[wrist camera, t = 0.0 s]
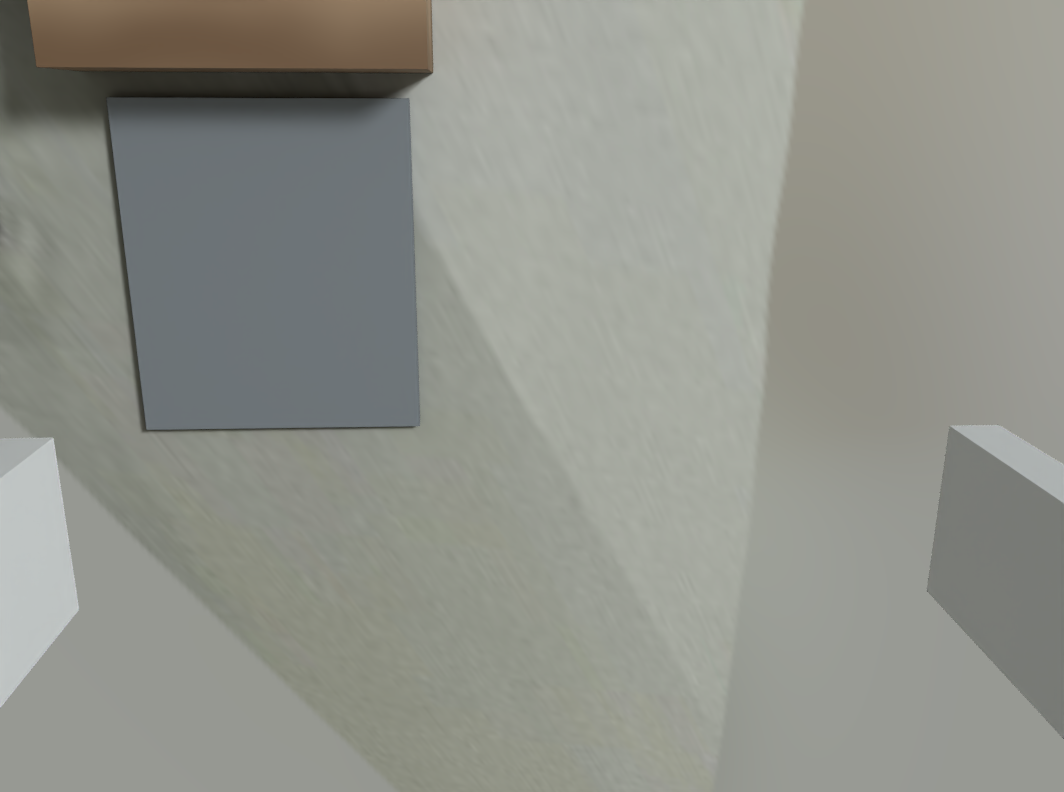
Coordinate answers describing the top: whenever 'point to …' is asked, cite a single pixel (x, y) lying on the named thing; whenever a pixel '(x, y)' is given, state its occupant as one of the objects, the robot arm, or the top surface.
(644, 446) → the top surface
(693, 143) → the top surface
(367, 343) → the mat
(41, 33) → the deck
